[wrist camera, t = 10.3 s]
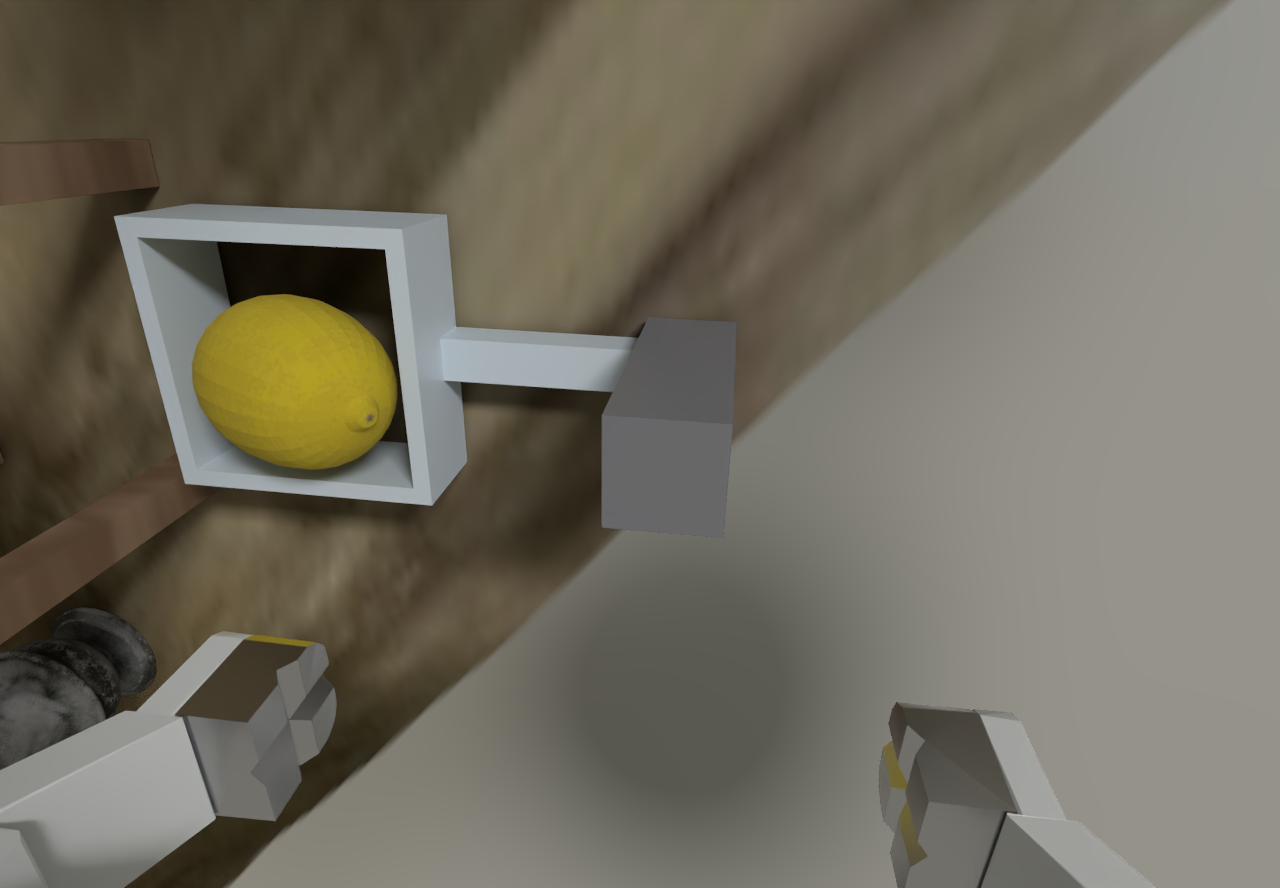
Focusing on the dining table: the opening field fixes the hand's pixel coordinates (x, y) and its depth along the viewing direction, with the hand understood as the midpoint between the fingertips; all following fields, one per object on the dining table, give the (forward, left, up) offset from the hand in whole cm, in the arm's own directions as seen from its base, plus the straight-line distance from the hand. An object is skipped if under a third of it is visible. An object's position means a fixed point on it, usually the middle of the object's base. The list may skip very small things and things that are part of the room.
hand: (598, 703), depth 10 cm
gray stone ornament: (-5, -32, -17) cm, 37 cm away
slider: (-5, -6, -17) cm, 18 cm away
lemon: (-10, -13, -15) cm, 22 cm away
